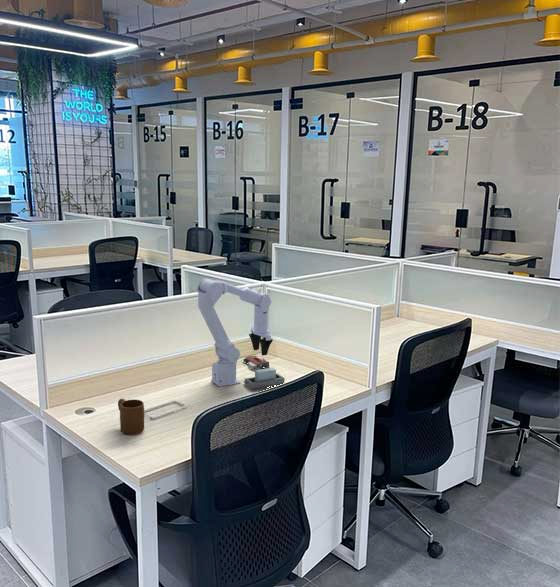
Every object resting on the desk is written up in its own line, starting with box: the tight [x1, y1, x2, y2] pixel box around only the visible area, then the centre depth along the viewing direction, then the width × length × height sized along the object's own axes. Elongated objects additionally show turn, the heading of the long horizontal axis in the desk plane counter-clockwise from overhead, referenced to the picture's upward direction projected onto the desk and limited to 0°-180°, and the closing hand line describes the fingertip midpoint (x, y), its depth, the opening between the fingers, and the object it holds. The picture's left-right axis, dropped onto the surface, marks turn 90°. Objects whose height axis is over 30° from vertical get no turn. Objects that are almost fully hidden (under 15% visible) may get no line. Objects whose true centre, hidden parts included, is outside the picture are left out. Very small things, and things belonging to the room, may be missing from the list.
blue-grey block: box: [254, 367, 277, 382], centre depth 225 cm, size 8×3×6 cm, turn 120°
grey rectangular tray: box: [243, 373, 285, 392], centre depth 226 cm, size 15×8×3 cm, turn 120°
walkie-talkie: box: [243, 354, 270, 371], centre depth 247 cm, size 9×4×20 cm
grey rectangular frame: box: [144, 400, 188, 420], centre depth 198 cm, size 7×1×15 cm
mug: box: [117, 398, 145, 436], centre depth 183 cm, size 12×8×9 cm, turn 45°
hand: (260, 352), depth 236 cm, fingers open, 7 cm apart
